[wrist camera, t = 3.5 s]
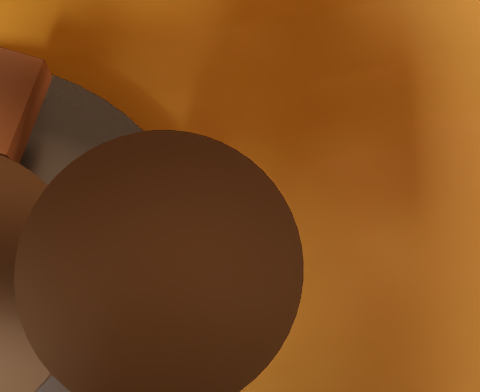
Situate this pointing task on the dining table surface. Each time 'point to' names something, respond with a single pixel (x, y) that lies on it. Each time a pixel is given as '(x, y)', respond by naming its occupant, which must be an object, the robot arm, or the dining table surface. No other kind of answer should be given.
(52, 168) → the post base
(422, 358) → the dining table surface
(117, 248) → the crank handle
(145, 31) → the dining table surface
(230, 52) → the dining table surface
